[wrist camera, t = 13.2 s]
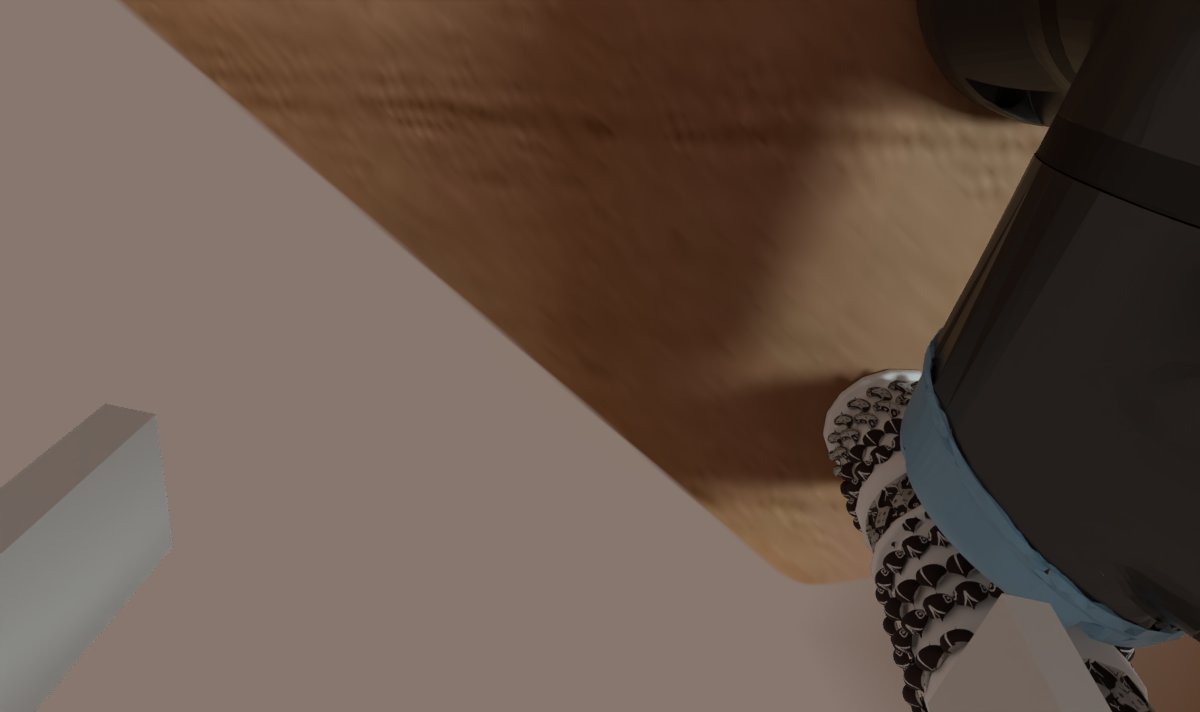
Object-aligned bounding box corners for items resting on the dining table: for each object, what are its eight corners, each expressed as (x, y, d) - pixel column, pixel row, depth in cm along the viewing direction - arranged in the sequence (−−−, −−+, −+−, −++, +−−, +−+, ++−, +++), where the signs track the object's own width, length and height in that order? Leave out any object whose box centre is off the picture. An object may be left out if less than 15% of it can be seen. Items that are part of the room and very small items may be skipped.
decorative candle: (854, 503, 50) (1013, 936, 28) (791, 405, 46) (916, 812, 24) (988, 446, 47) (1282, 878, 25) (931, 337, 43) (1215, 729, 22)
